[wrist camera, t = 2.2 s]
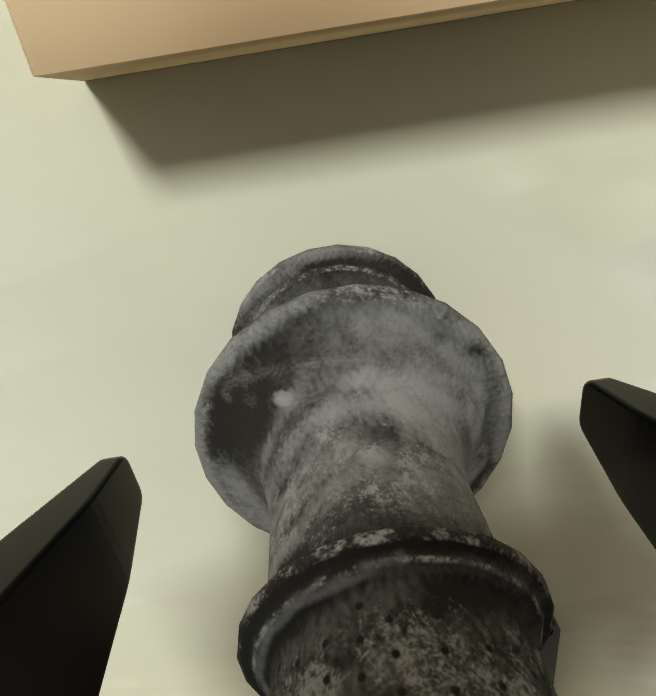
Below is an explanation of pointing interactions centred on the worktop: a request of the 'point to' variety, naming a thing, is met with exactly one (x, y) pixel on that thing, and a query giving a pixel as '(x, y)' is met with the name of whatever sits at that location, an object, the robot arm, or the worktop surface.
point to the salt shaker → (370, 487)
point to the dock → (208, 28)
